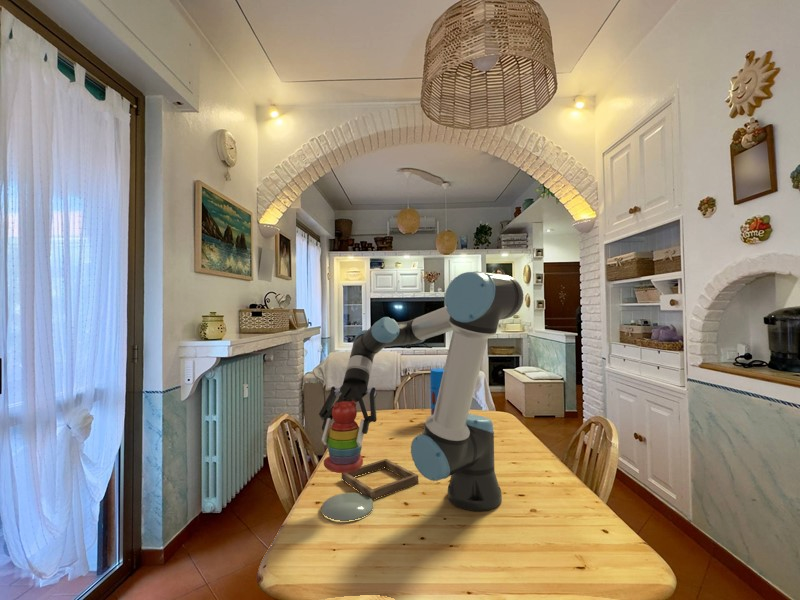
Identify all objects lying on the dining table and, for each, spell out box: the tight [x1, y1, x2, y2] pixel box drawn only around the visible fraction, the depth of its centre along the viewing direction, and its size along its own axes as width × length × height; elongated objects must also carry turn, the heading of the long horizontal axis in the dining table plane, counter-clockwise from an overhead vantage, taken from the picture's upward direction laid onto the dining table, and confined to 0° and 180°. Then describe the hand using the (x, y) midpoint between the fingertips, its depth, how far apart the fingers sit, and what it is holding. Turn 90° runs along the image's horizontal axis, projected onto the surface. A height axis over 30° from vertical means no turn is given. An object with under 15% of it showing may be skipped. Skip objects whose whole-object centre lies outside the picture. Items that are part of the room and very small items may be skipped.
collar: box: [341, 458, 419, 501], centre depth 121 cm, size 17×17×2 cm
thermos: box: [429, 367, 444, 416], centre depth 185 cm, size 11×11×25 cm
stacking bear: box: [323, 401, 364, 474], centre depth 106 cm, size 11×10×18 cm
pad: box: [321, 492, 374, 521], centre depth 105 cm, size 14×14×1 cm
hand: (341, 443), depth 103 cm, fingers closed on stacking bear, 9 cm apart
